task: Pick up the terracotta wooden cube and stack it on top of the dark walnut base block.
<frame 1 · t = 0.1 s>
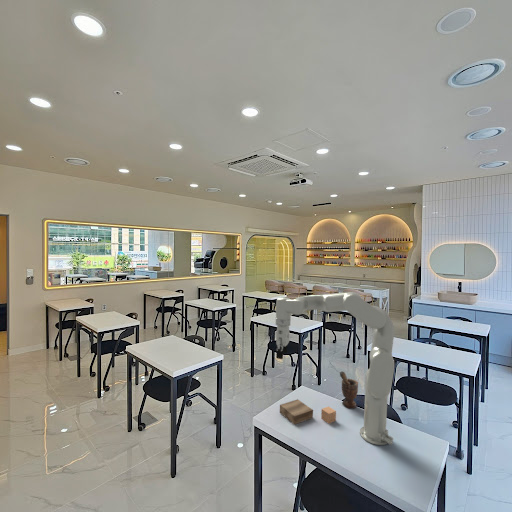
hand: (281, 355, 147), 31 cm above the table, fingers open, 9 cm apart
mortar and pestle: (347, 406, 159), on the table
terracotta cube: (328, 419, 146), on the table
walnut base: (295, 415, 149), on the table
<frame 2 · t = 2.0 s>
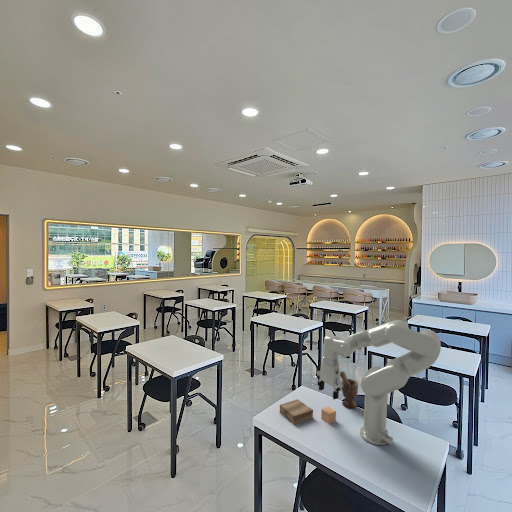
hand: (328, 394, 146), 13 cm above the table, fingers open, 9 cm apart
nothing on the table moved.
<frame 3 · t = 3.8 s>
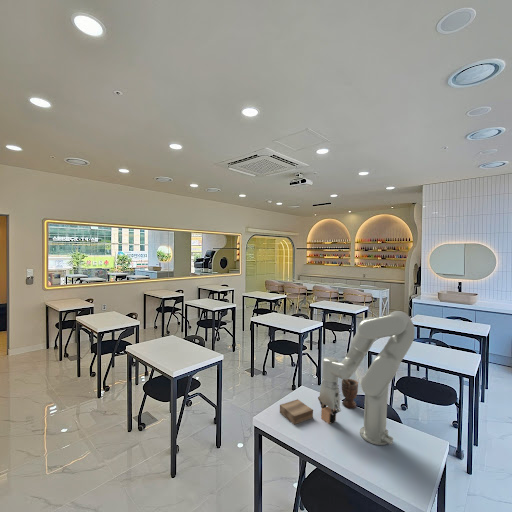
hand: (328, 418, 146), 1 cm above the table, fingers closed on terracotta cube, 5 cm apart
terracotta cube: (328, 419, 146), on the table, touching gripper
everything else where it was.
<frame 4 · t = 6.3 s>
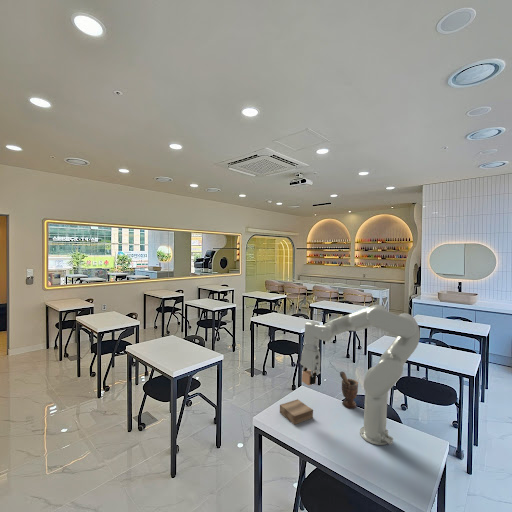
hand: (308, 381, 148), 18 cm above the table, fingers closed on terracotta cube, 5 cm apart
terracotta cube: (308, 382, 148), point 18 cm above the table, touching gripper
everything else where it was.
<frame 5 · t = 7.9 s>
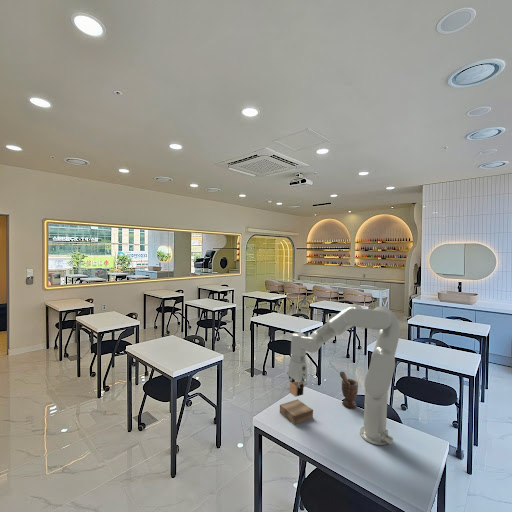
hand: (296, 392, 149), 12 cm above the table, fingers closed on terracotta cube, 5 cm apart
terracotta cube: (296, 393, 149), point 11 cm above the table, touching gripper
everything else where it was.
when the fingers open (6 cm above the table, at t = 9.3 s): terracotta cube drops 1 cm, resting on walnut base.
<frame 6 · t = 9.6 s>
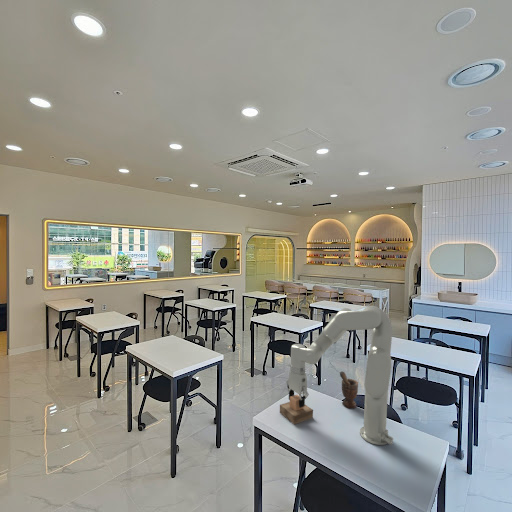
hand: (296, 402, 149), 6 cm above the table, fingers open, 7 cm apart
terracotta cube: (296, 407, 149), point 4 cm above the table, touching walnut base
everything else where it was.
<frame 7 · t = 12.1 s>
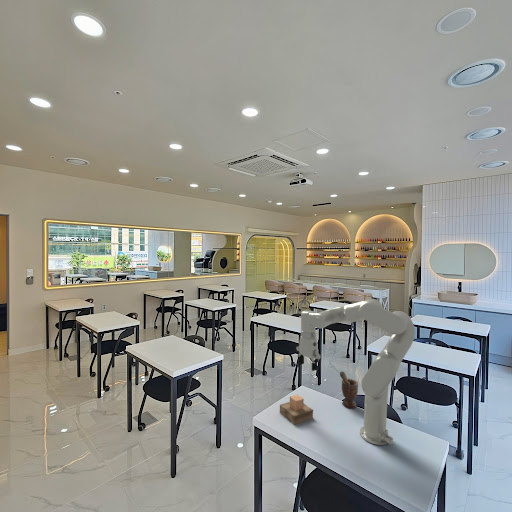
hand: (307, 367, 152), 24 cm above the table, fingers open, 9 cm apart
nothing on the table moved.
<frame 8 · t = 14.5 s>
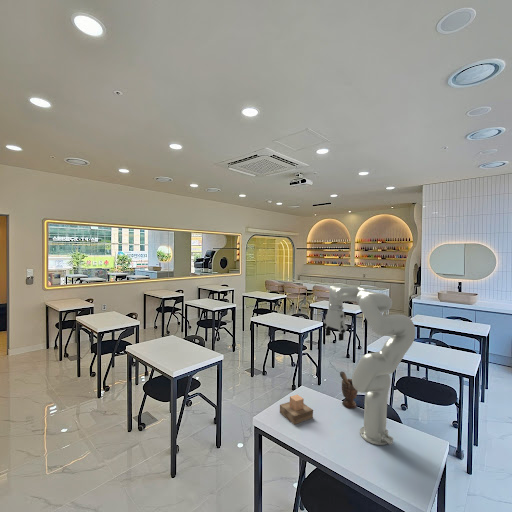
hand: (334, 337, 163), 36 cm above the table, fingers open, 9 cm apart
nothing on the table moved.
at the end: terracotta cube inside the target area on the walnut base (0.0 cm from its centre), point 4.0 cm above the walnut base's base; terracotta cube tilted 0°; the gripper is holding nothing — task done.
